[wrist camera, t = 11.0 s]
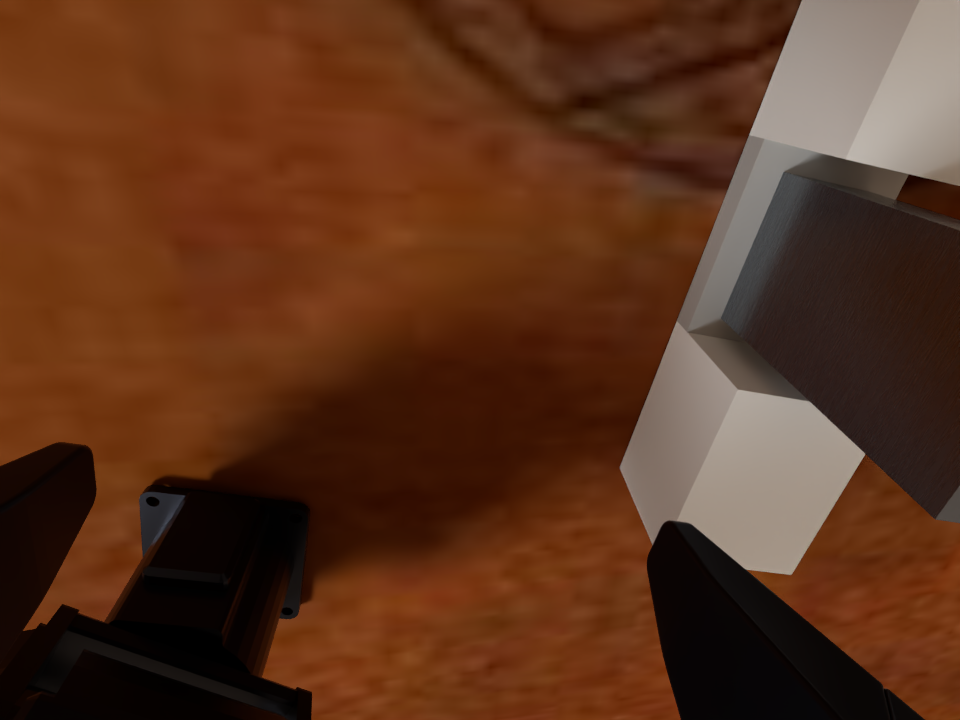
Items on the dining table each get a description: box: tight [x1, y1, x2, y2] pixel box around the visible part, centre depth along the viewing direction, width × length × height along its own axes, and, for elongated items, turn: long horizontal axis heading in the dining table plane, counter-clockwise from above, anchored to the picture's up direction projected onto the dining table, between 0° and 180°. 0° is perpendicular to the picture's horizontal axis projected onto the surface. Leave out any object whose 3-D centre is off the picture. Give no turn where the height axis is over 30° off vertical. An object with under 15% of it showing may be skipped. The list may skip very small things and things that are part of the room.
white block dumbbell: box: [620, 0, 960, 575], centre depth 18 cm, size 20×5×5 cm, turn 168°
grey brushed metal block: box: [721, 172, 960, 523], centre depth 15 cm, size 5×3×10 cm, turn 168°
